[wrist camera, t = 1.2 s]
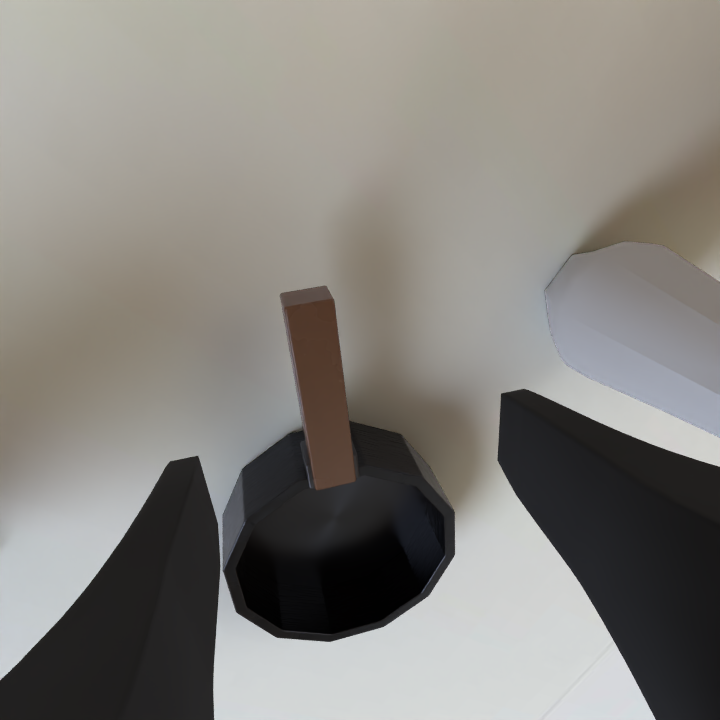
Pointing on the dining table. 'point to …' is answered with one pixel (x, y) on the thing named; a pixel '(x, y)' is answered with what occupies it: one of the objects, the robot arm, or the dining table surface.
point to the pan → (332, 507)
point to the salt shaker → (642, 327)
